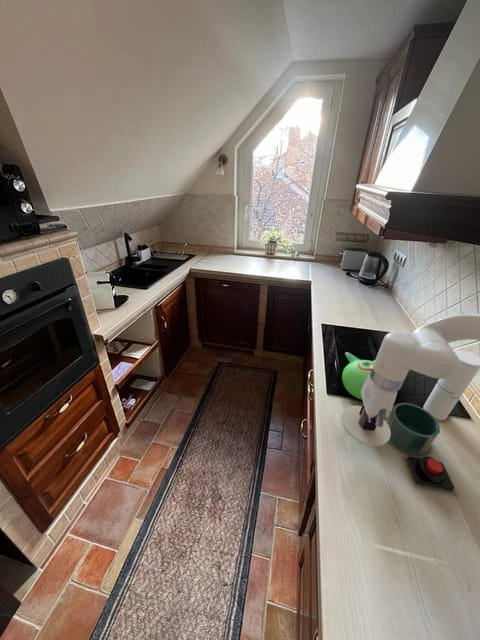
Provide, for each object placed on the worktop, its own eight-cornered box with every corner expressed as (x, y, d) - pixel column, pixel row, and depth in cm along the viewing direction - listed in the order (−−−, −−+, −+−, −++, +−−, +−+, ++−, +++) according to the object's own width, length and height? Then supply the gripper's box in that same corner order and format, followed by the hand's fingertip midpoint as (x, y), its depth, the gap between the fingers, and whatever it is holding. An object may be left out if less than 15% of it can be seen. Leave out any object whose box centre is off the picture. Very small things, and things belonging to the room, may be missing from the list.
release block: (439, 465, 75) (444, 458, 73) (451, 491, 69) (457, 484, 67) (406, 459, 76) (410, 452, 74) (415, 483, 70) (420, 476, 68)
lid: (382, 412, 81) (389, 396, 77) (395, 452, 69) (405, 436, 66) (338, 404, 83) (343, 389, 79) (344, 442, 71) (350, 426, 68)
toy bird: (340, 404, 93) (350, 374, 86) (336, 373, 107) (344, 345, 100) (393, 414, 90) (408, 384, 82) (382, 381, 104) (394, 353, 96)
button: (436, 463, 72) (439, 459, 71) (442, 476, 69) (445, 472, 68) (422, 460, 73) (425, 457, 72) (428, 473, 70) (430, 470, 69)
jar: (418, 423, 87) (429, 406, 83) (435, 458, 76) (448, 441, 72) (380, 416, 89) (387, 399, 85) (390, 449, 78) (400, 432, 74)
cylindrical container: (424, 400, 96) (454, 347, 83) (446, 410, 92) (482, 356, 79) (422, 413, 91) (454, 359, 78) (446, 423, 87) (484, 368, 74)
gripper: (364, 354, 73) (348, 398, 83) (379, 398, 59) (358, 445, 69) (392, 358, 72) (372, 402, 82) (414, 404, 58) (388, 451, 67)
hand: (366, 421), depth 75 cm, fingers closed on lid, 4 cm apart
